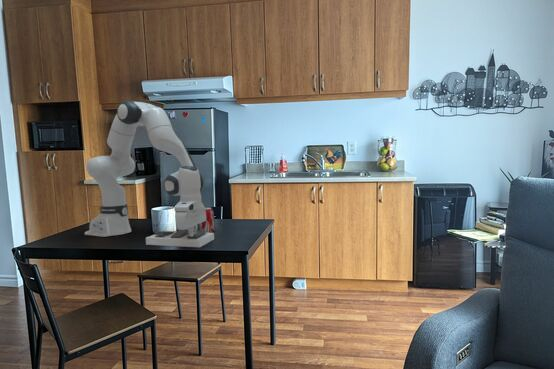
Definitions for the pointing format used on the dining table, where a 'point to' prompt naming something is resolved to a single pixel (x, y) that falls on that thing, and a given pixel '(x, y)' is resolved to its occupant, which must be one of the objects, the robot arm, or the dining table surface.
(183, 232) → the middle rocker
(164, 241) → the rocker switch panel
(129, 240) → the dining table surface
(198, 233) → the rocker
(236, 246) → the dining table surface
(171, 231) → the rocker
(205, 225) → the soda can
